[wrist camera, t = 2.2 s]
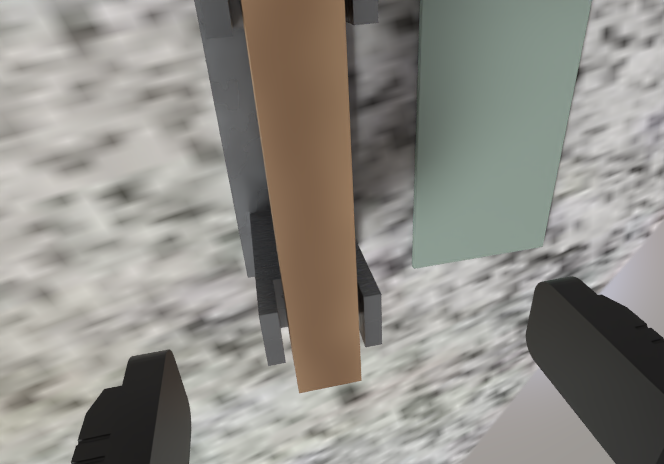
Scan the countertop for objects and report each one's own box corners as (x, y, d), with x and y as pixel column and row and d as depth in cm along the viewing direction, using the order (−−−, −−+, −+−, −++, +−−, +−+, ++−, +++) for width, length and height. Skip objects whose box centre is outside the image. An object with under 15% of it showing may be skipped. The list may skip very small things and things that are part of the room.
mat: (621, -175, 22) (627, -177, 22) (539, 244, 35) (542, 246, 34) (425, -167, 21) (428, -170, 21) (411, 265, 33) (413, 268, 33)
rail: (317, -140, 14) (337, -163, 12) (347, 337, 25) (361, 380, 22) (220, -136, 14) (218, -158, 11) (291, 348, 24) (299, 393, 22)
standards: (330, -108, 21) (404, -160, 13) (349, 252, 32) (397, 363, 23) (176, -100, 20) (138, -149, 12) (247, 269, 31) (255, 391, 22)
